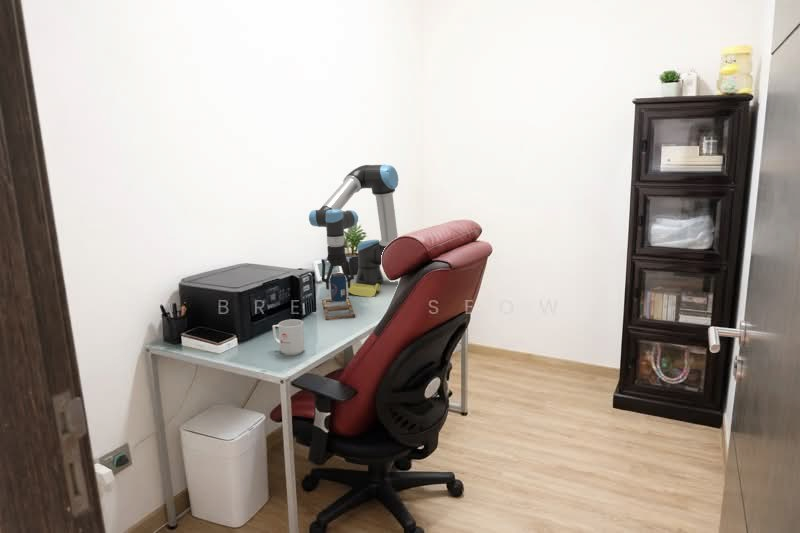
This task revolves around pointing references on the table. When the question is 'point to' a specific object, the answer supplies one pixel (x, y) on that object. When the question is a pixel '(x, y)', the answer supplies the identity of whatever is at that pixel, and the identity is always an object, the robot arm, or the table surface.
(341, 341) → the table surface
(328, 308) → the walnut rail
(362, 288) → the plastic component
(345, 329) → the table surface
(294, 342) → the mug
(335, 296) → the soda can
